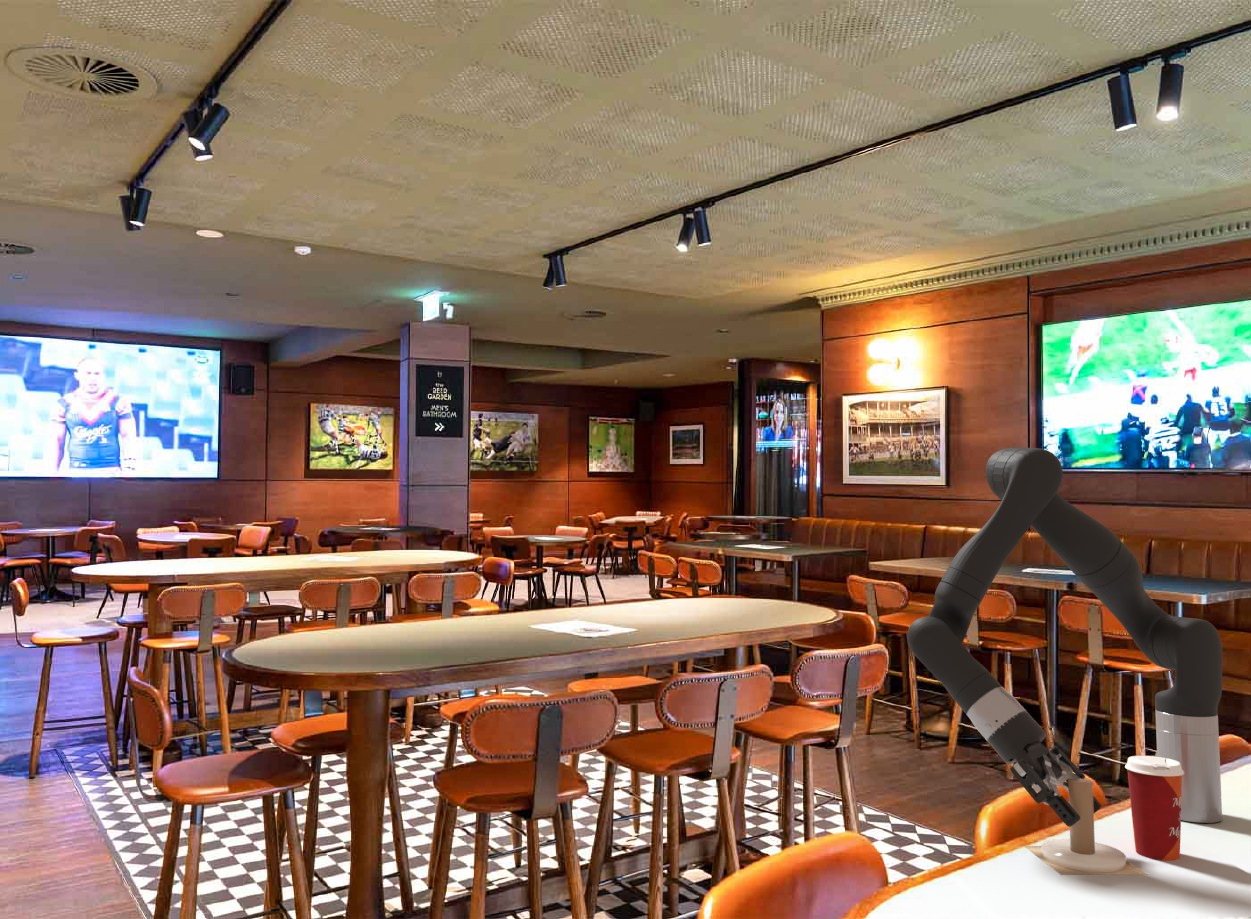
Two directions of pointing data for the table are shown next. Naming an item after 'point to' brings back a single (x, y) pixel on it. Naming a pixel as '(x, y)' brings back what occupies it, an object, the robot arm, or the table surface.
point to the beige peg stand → (1083, 838)
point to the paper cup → (1155, 806)
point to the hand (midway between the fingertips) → (1086, 817)
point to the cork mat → (1128, 870)
